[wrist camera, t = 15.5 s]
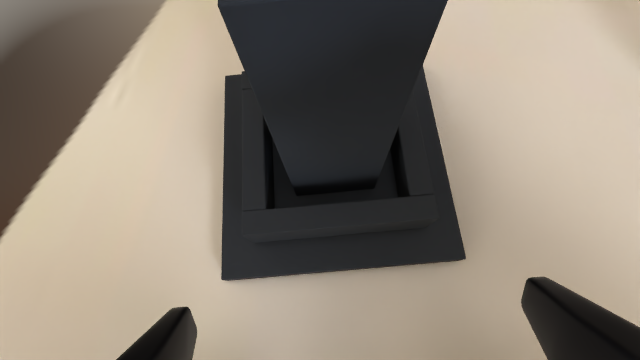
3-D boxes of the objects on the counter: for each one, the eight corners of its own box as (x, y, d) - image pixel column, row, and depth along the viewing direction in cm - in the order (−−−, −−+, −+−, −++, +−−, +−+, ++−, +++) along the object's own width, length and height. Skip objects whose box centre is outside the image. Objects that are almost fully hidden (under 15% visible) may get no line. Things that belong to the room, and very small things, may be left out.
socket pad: (459, 260, 18) (488, 253, 14) (226, 280, 18) (202, 278, 15) (417, 66, 22) (432, 26, 19) (229, 84, 22) (211, 48, 19)
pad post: (374, 189, 18) (456, -19, 6) (296, 196, 18) (216, 5, 6) (364, 119, 20) (413, -164, 7) (292, 126, 20) (221, -142, 7)
